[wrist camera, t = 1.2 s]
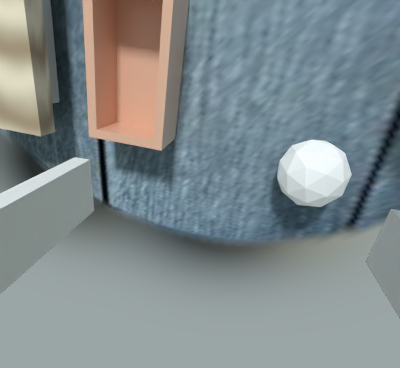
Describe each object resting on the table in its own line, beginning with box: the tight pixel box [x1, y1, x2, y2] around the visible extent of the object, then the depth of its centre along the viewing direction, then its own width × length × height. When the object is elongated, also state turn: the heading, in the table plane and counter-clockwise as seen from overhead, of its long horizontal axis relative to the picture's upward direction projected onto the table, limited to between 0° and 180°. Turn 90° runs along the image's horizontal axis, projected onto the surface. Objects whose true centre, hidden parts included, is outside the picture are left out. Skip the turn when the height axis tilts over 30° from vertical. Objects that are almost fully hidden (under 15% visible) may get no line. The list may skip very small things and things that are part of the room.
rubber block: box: [42, 0, 60, 103], centre depth 31 cm, size 14×7×4 cm, turn 172°
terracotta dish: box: [83, 0, 189, 151], centre depth 29 cm, size 16×9×6 cm, turn 172°
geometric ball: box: [277, 140, 352, 207], centre depth 30 cm, size 8×8×8 cm
